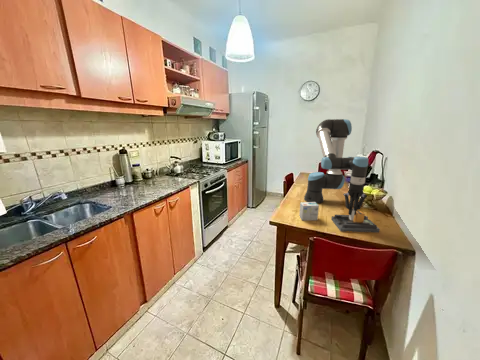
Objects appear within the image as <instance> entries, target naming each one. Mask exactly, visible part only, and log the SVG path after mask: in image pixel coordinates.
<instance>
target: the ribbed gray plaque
mask: <svg viewBox="0 0 480 360" xmlns="http://www.w3.org/2000/svg"><path fill="white" fill-rule="evenodd" d="M333 216H334V217H335V218H340V217H341V216H349V214H334V215H333ZM364 219H369V216H367V215H365V216H364ZM342 226H343V227H348V228H377V227H378V225H376V224H375V225H370V224H342Z"/></svg>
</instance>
